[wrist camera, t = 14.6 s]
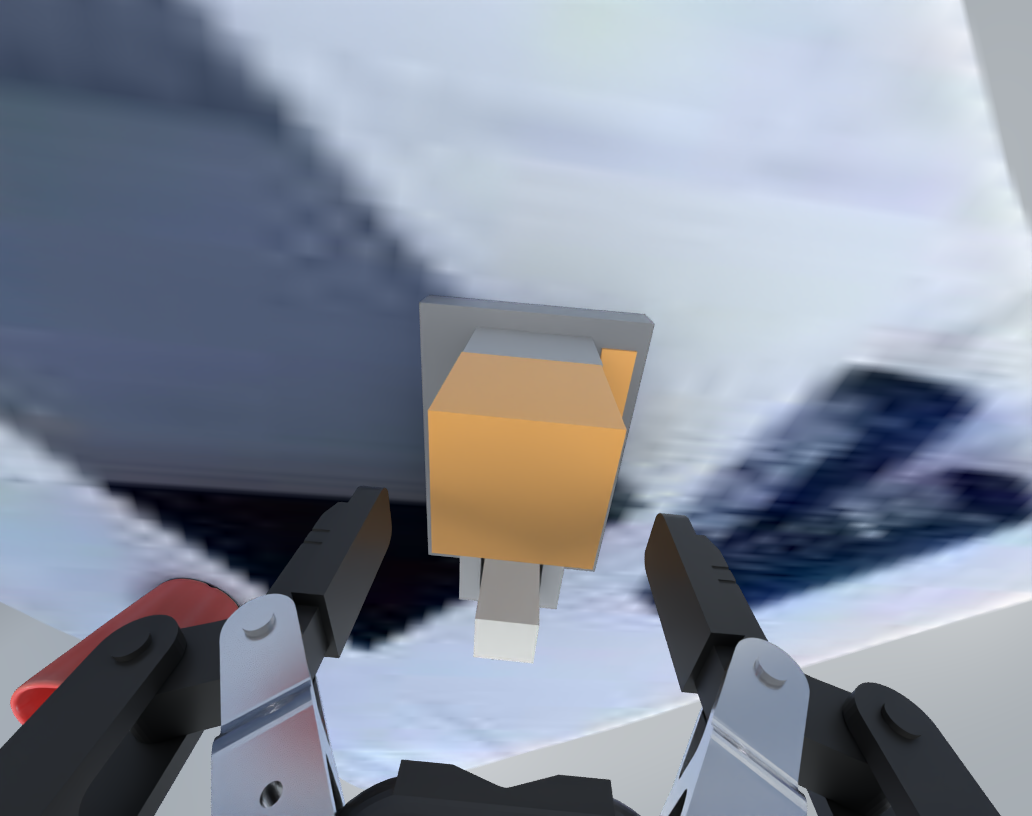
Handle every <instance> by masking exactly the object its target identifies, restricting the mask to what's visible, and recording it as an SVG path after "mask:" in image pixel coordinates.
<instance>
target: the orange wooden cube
mask: <svg viewBox="0 0 1032 816" xmlns="http://www.w3.org/2000/svg"><path fill="white" fill-rule="evenodd" d="M428 431H429V467H430V504H431V540H432V553H439V554H448V555H458V556H467V557H477V558H486V559H496V560H505V561H515V562H524V563H534V564H543V565H553V566H562V567H572V568H581V569H591V570H593V566H594V562H595V558H596V554H597V550H598V546H599V542H600V538H601V533H602V529H603V525H604V521H605V517H606V513H607V509H608V505H609V501H610V496H611V492H612V488H613V484H614V480H615V476H616V472H617V468H618V464H619V459H620V455H621V451H622V447H623V443H624V439H625V435H626V431H627V429H626V427H625V424H624V422H623V419H622V417H621V414H620V411H619V409H618V406H617V404H616V401H615V399H614V396H613V394H612V391H611V388H610V386H609V383H608V381H607V378H606V376H605V373H604V371H603V368H602V365H594V364H583V363H573V362H563V361H552V360H542V359H531V358H521V357H510V356H500V355H490V354H479V353H469V352H461V354H460V356H459V357H458V359H457V361H456V363H455V364H454V366H453V368H452V369H451V371H450V373H449V375H448V376H447V378H446V380H445V382H444V383H443V385H442V387H441V388H440V390H439V392H438V394H437V395H436V397H435V399H434V401H433V402H432V404H431V406H430V408H429V409H428Z"/></svg>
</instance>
